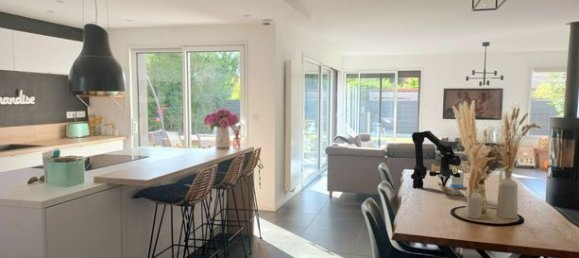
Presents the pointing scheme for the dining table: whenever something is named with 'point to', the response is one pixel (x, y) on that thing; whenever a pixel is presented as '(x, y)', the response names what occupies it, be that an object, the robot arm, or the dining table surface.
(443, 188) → the plank front
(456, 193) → the tan wooden tile
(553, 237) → the dining table surface
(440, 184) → the plank rear
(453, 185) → the ink box
